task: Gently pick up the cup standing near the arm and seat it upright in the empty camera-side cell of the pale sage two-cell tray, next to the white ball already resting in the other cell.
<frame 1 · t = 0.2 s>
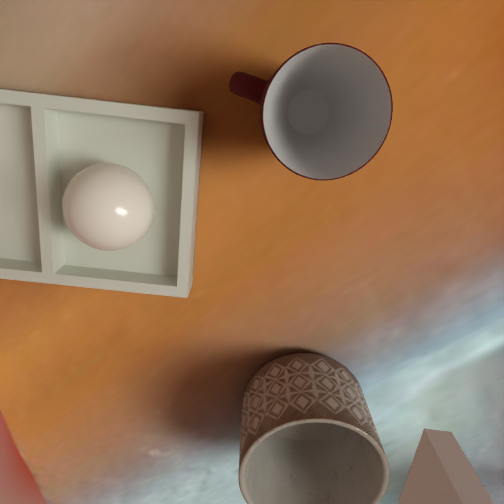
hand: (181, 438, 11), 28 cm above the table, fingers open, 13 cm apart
white ball: (123, 198, 36), point 1 cm above the table, touching tray
tray: (59, 188, 37), on the table
mug: (293, 109, 35), on the table
planter: (301, 395, 45), on the table
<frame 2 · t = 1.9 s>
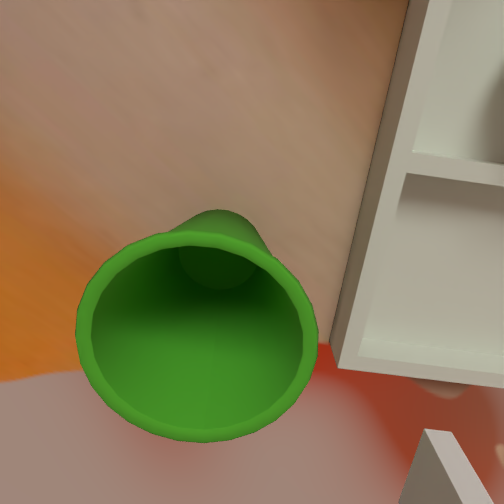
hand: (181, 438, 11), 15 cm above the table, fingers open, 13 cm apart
cup: (220, 247, 26), on the table
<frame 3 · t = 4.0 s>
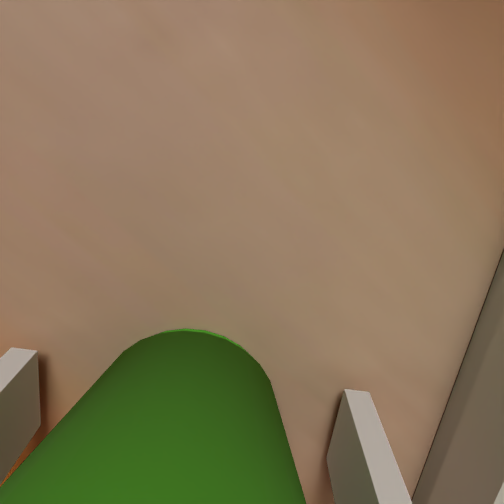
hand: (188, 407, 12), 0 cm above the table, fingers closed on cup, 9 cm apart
cup: (192, 392, 13), on the table, touching gripper
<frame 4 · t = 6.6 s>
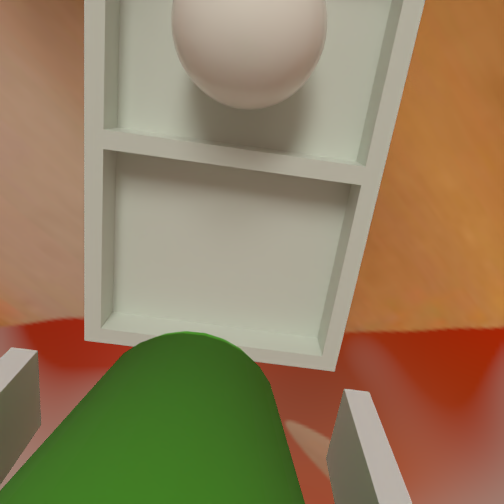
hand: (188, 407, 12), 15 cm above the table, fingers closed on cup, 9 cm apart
cup: (191, 394, 13), point 15 cm above the table, touching gripper
white ball: (250, 39, 22), point 1 cm above the table, touching tray
tray: (237, 151, 25), on the table
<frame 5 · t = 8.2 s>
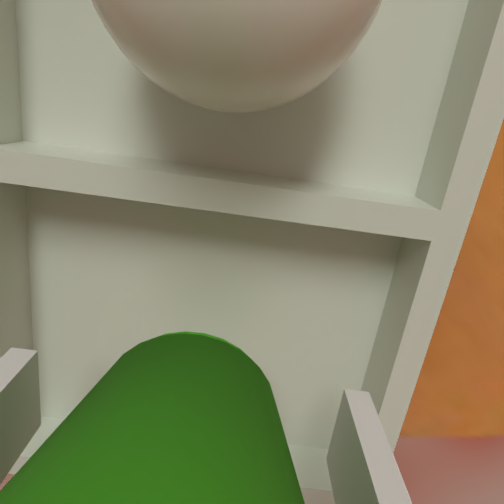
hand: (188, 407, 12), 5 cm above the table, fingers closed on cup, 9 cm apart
cup: (191, 394, 13), point 5 cm above the table, touching gripper
tray: (222, 179, 15), on the table
when the fingers open (3 cm above the table, at t = 9.6 s): cup drops 2 cm, resting on tray.
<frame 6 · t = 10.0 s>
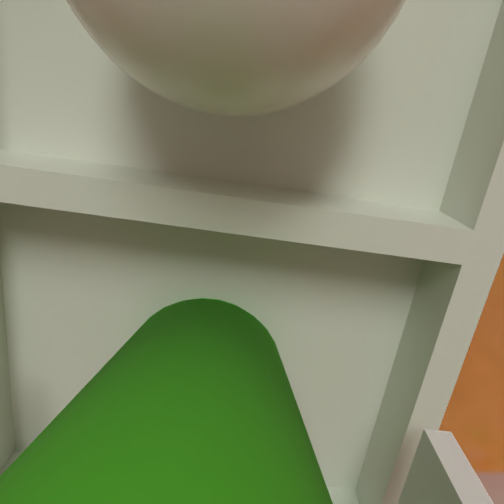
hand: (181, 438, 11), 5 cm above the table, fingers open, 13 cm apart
cup: (207, 354, 15), point 1 cm above the table, touching tray
tray: (220, 190, 14), on the table
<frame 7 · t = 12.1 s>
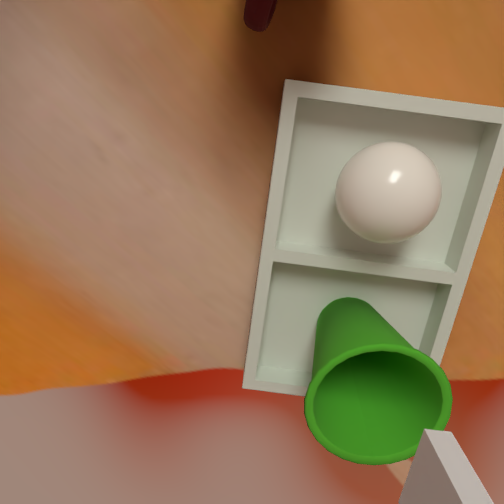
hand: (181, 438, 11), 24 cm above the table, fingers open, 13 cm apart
cup: (346, 321, 36), point 1 cm above the table, touching tray
white ball: (374, 185, 32), point 1 cm above the table, touching tray
tray: (356, 254, 34), on the table
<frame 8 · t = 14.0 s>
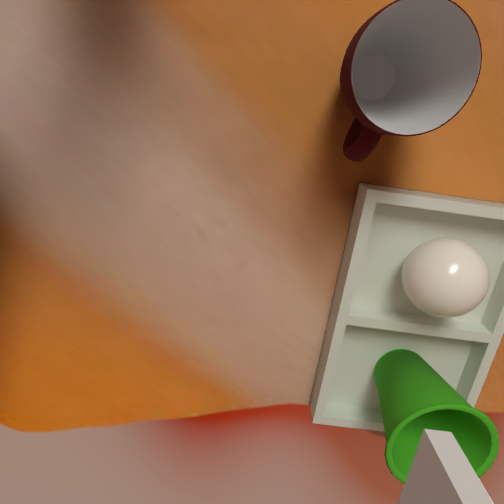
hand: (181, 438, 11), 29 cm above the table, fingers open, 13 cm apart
cup: (397, 367, 43), point 1 cm above the table, touching tray
white ball: (428, 263, 39), point 1 cm above the table, touching tray
tray: (408, 314, 42), on the table
mug: (366, 94, 35), on the table
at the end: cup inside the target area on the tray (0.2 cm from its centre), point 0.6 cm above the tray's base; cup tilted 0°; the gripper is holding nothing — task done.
